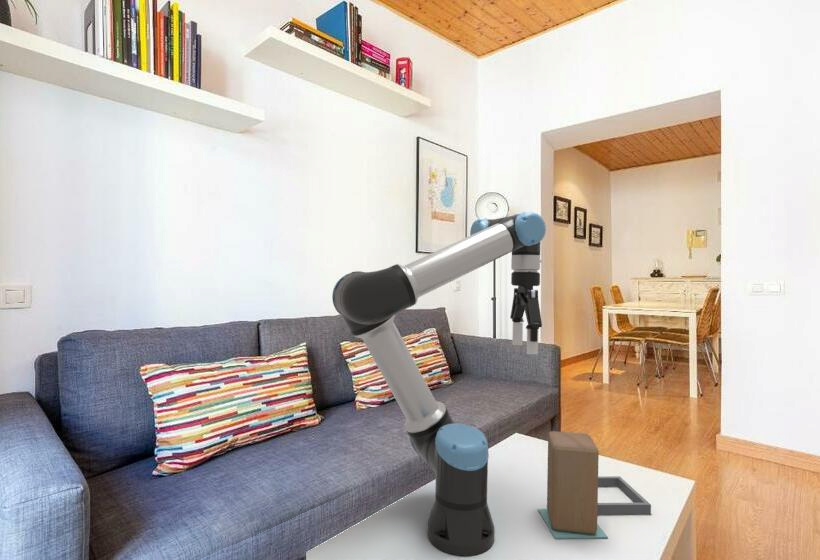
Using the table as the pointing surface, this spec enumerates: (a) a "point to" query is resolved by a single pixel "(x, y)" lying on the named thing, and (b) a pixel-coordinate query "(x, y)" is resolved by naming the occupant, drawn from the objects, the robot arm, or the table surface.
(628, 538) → the table surface
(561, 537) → the board
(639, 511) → the gray square frame
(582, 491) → the wooden block
